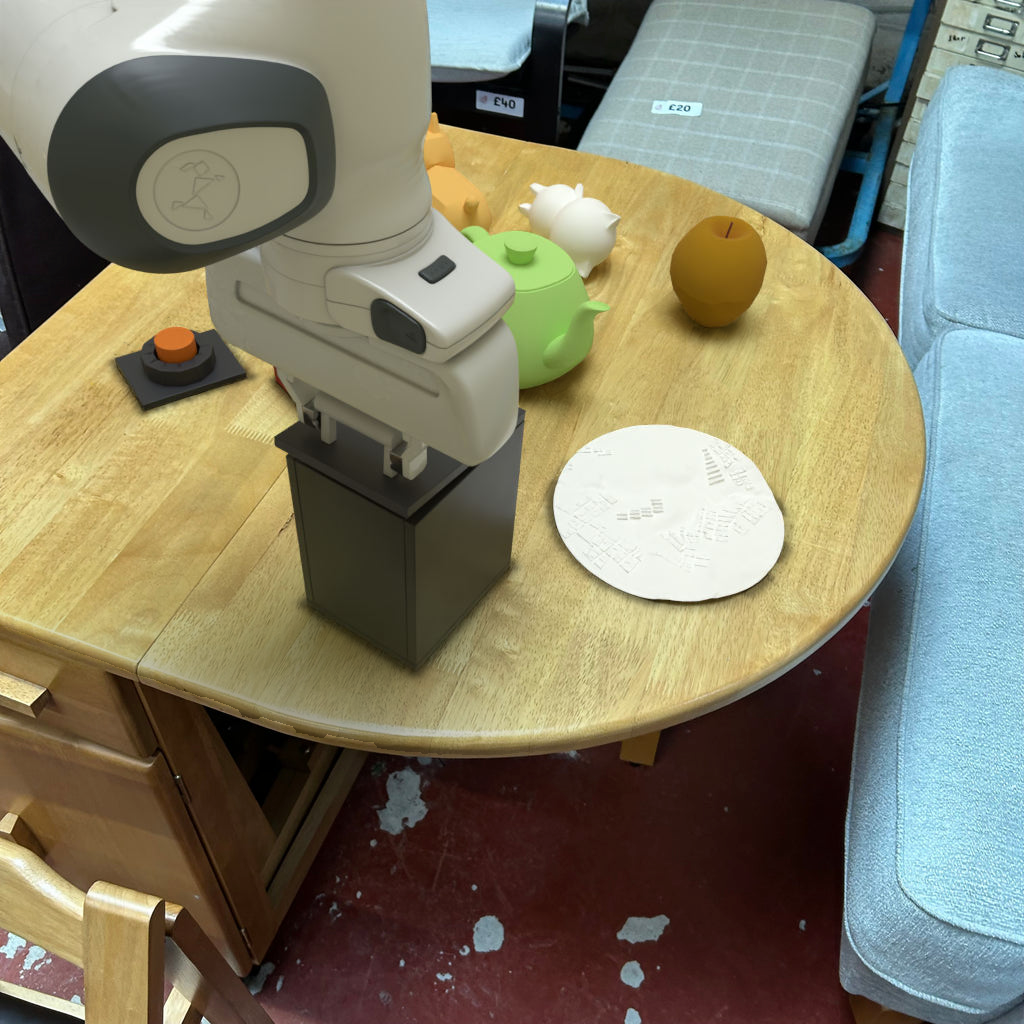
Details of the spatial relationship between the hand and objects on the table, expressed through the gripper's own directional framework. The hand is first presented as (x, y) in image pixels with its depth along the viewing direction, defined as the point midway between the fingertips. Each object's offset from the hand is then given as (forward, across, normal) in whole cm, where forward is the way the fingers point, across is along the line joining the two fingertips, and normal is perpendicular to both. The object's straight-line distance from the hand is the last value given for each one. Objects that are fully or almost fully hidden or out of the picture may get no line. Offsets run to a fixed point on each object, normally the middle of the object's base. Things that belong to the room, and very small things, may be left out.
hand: (362, 445), depth 59 cm
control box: (+19, -34, +12) cm, 41 cm away
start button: (+17, -34, +12) cm, 40 cm away
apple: (+19, +3, +53) cm, 57 cm away
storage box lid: (+2, 0, +4) cm, 5 cm away
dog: (+19, -30, +48) cm, 60 cm away
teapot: (+19, -9, +34) cm, 40 cm away
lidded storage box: (+19, 0, +4) cm, 19 cm away
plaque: (+19, +13, +24) cm, 33 cm away
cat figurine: (+19, -15, +55) cm, 60 cm away
